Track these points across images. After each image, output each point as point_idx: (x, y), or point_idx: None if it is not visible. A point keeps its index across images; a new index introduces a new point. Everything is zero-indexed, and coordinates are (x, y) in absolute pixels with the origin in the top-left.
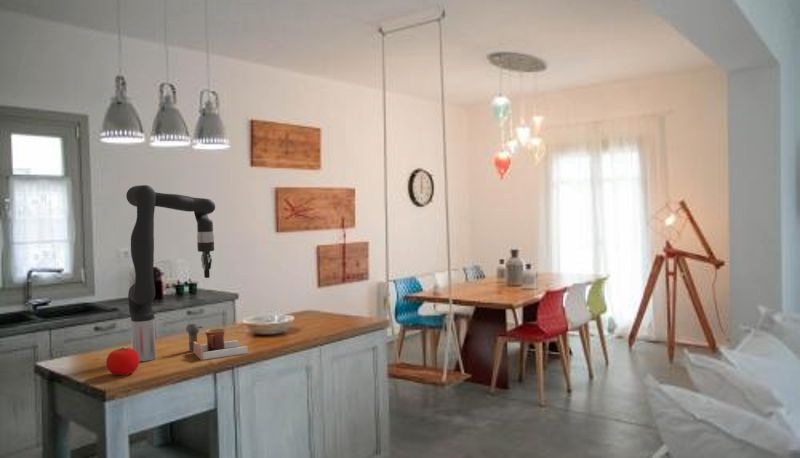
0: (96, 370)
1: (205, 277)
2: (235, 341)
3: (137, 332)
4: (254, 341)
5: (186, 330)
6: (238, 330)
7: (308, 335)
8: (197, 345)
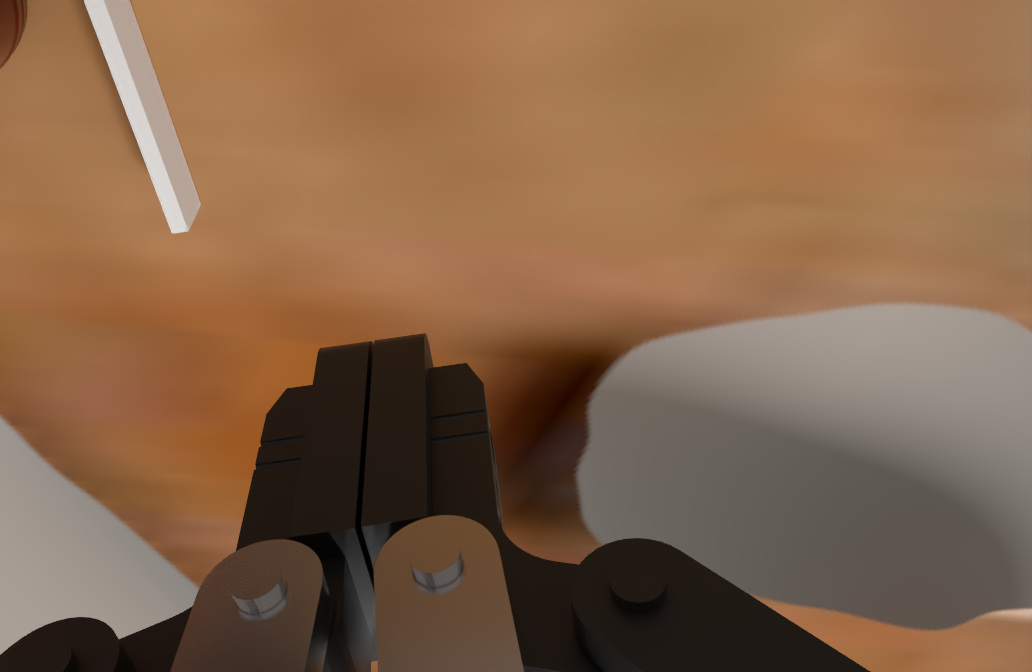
0: None
1: (323, 360)
2: (163, 203)
3: None
4: (355, 334)
5: None
6: (882, 264)
7: None
8: None
